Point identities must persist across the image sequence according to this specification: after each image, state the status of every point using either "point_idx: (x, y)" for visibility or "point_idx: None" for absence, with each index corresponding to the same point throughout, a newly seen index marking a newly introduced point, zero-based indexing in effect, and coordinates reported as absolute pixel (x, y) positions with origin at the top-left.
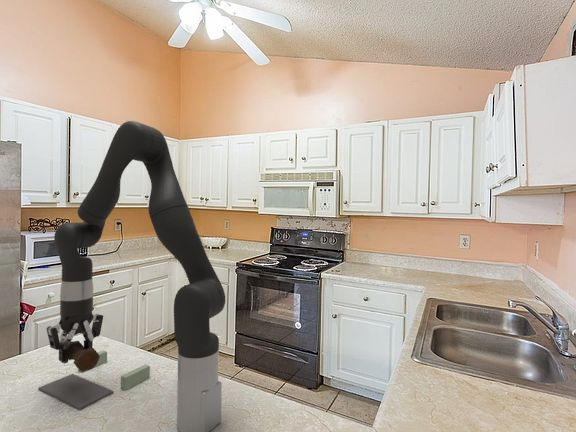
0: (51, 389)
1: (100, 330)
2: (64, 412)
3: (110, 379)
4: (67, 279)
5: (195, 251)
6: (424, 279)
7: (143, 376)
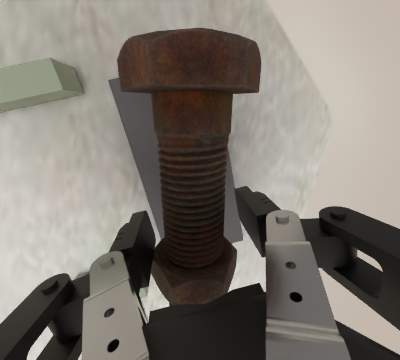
0: (227, 212)
1: (8, 317)
2: None
3: (95, 173)
4: None
5: None
6: None
7: None
